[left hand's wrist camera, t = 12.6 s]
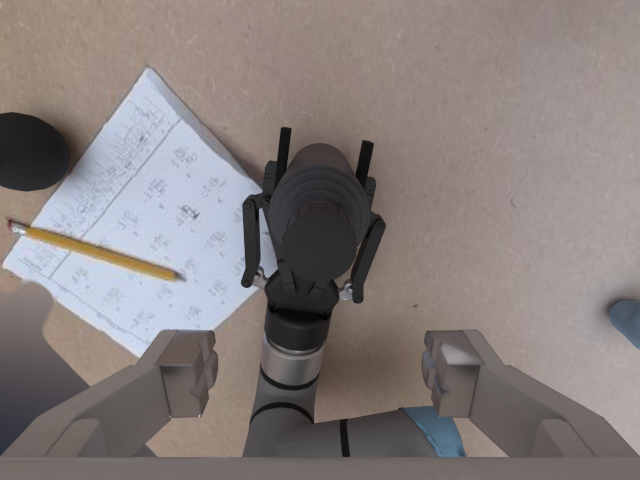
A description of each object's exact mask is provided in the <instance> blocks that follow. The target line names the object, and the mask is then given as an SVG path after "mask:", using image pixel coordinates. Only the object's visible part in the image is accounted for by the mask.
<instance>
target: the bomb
mask: <svg viewBox="0 0 640 480" xmlns="http://www.w3.org/2000/svg"><path fill="white" fill-rule="evenodd" d="M69 164H70V153H69V148H68V145H67V144H66V142H65V140H64V138H63V137H62V135H61V134H60V133H59V132H58V131H57V130H56V129H55V128H54V127H52V126H51V125H50V124H48V123H46V122H44V121H42V120H41V119H39V118H37V117H34V116H30V115H26V114H21V113H14V112H10V113H2V114H0V186H2V187H5V188H8V189H13V190H19V191H34V190H41V189H46V188H48V187H51V186H52V185H54V184H55V183H57V182H59V181H60V180H61V179H62V178H63V177H64V175H65V174H66V172H67V170H68V168H69Z"/></svg>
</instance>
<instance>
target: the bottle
mask: <svg viewBox="0 0 640 480" xmlns="http://www.w3.org/2000/svg"><path fill="white" fill-rule="evenodd" d="M317 202H320V203H324V202H326V203H328V204H331V205H334V206H336V207H339V209H340V210H342V211H343V212H344V213H345V214H346V215H347V216H348V217H349V220H350V222H351V225H352V228H354V231H355V234H356V244H357V246H358V245H359V244H360V243H361V241H362V240H363V238H364V236H365V235H366V232H367V230H368V227H369V222H370V206H369V201H368V198H367V196H366V193H365V191H364V190H363V188H362V186H361V184H360V183H359V181H358V179H357V177H356V176H355V174H354V172H353V171H352V169H351V167H350V165H349V164H348V162H347V160H346V158H345V157H344V155H343V154H342V153H341V152H340V151H339V150H338V149H336V148H334V147H333V146H330V145H327V144H320V143H318V144H312V145H309V146H306V147H304V148H303V149H301V150H300V151H299V152H298V153H297V154H296V155H295V157H294V158H293V160H292V162H291V163H290V165H289V167H288V169H287V170H286V172H285V174H284V175H283V177H282V179H281V181H280V182H279V184H278V186H277V187H276V189H275V191H274V193H273V195H272V197H271V200H270V204H269V211H268V216H269V224H270V228H271V231H272V233H273V235H274V237H275V239H276V240H277V242H278V243H279V244H280V246H281V247H282V237H283V234H284V230H286V226H287V223H288V219H289V218H291V216H292V215H293V214H294V213H295V212H296V211H297V210H298V208H301V207H303V206H305V205H307V204H310V203H317Z"/></svg>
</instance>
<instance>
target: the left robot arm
mask: <svg viewBox="0 0 640 480" xmlns="http://www.w3.org/2000/svg"><path fill="white" fill-rule="evenodd" d="M215 343H216V340H215V334H214V332H213V331H212V330H162V331H160V332H159V334H158V335H157V336H156V338H155V339H154V340H153V342H152V343H151V344H150V346H149V347H148V348H147V350H146V351H145V352H144V354H143V355H142V357H141V358H140V359H139V361H138V362H137V363H136V365H129V366H128V367H126V368H124V369H122V370H120V371H119V372H117V373H115V374H113V375H111V376H110V377H108V378H106V379H104V380H102V381H101V382H99V383H97V384H95V385H94V386H92V387H90V388H88V389H86V390H85V391H83V392H81V393H79V394H77V395H76V396H74V397H72V398H70V399H68V400H67V401H65V402H63V403H61V404H60V405H58V406H56V407H54V408H52V409H51V410H49V411H47V412H45V413H43V414H42V415H40V416H38V417H37V418H36V419H35V420H34V421H33V422H32V423H31V424H30V425H29V426H28V427H27V429H26V430H25V431H24V432H23V433H22V434H21V435H20V436H19V437H18V438H17V439H16V440H15V441H14V442H13V443H12V444H11V446H10V447H9V448H8V449H7V450H6V451H5V452H4V453H3V454H2V455H1V456H0V480H640V456H639V455H638V454H637V453H636V452H635V451H634V450H633V449H632V448H631V447H630V445H629V444H628V443H627V442H626V441H625V440H624V439H623V438H622V437H621V436H620V435H619V434H618V433H617V432H616V430H615V429H614V428H613V427H612V426H611V425H610V424H609V423H608V422H607V421H606V420H605V419H604V418H603V417H602V416H600V415H598V414H596V413H595V412H593V411H591V410H589V409H587V408H586V407H584V406H582V405H580V404H578V403H577V402H575V401H573V400H571V399H570V398H568V397H566V396H564V395H562V394H561V393H559V392H557V391H555V390H553V389H552V388H550V387H548V386H546V385H545V384H543V383H541V382H539V381H537V380H536V379H534V378H532V377H530V376H529V375H527V374H525V373H523V372H521V371H520V370H518V369H516V368H514V367H512V366H511V365H504V363H503V362H502V361H501V359H500V358H499V357H498V355H497V354H496V353H495V351H494V350H493V349H492V347H491V346H490V345H489V343H488V342H487V341H486V339H485V338H484V337H483V335H482V334H481V333H480V331H478V330H476V329H472V330H444V331H427V332H426V334H425V340H424V343H425V345H426V347H427V350H426V351H425V352H424V353H423V355H422V373H423V377H424V381H425V384H426V386H427V387H428V388H430V389H431V390H432V395H431V399H432V401H433V404H434V406H435V409H436V411H437V414H438V416H439V417H455V418H469V420H470V421H471V422H472V423H474V424H475V425H476V426H477V427H478V428H479V429H480V430H481V431H482V432H483V433H484V434H485V435H486V436H488V437H489V438H490V439H491V440H492V441H493V442H494V443H495V444H496V445H497V446H498V447H499V448H500V449H502V450H503V451H504V452H505V453H506V454H507V455H508V456H509V457H131V456H132V455H133V454H134V453H135V452H136V451H137V450H139V449H140V448H141V447H142V446H143V445H144V444H145V443H146V442H147V441H148V440H149V439H150V438H152V437H153V436H154V435H155V434H156V433H157V432H158V431H159V430H160V429H161V428H162V427H163V426H164V425H166V424H167V423H168V422H169V421H170V420H171V418H185V417H202V414H203V412H204V409H205V407H206V404H207V401H208V399H209V395H208V390H209V389H210V388H212V387H213V386H214V383H215V381H216V378H217V372H218V355H217V353H216V352H215V351H214V350H213V347H214V345H215Z"/></svg>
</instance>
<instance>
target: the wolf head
mask: <svg viewBox="0 0 640 480" xmlns="http://www.w3.org/2000/svg"><path fill="white" fill-rule="evenodd" d="M610 320H611V322H612V324H613V325H614V326H615V328H616V329H617V330H619V331H620V332H621V333H622V334H623V335H625V336H626V338H627V339H628V340H629V341H630V342H631V343H632V344H633V345H634V346H635V347H636V348H638V349H640V301H636V300H631V299H627V300H623V301H619V302H617V303H616V304H615V305H613V307H612V308H611V310H610Z"/></svg>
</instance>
